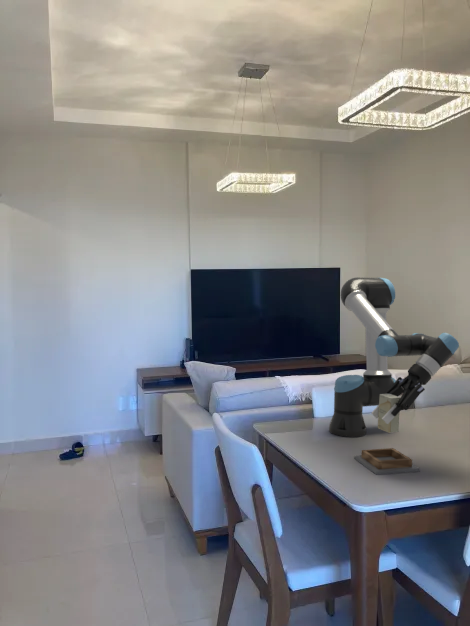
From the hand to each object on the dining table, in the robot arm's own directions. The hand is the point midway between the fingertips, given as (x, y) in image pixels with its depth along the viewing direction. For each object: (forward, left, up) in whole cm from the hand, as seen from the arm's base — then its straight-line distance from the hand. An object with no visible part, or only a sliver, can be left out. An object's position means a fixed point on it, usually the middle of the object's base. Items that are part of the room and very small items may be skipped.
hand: (379, 418), depth 186 cm
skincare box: (0, +4, -4) cm, 6 cm away
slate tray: (0, +3, -16) cm, 17 cm away
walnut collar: (0, +3, -16) cm, 17 cm away
